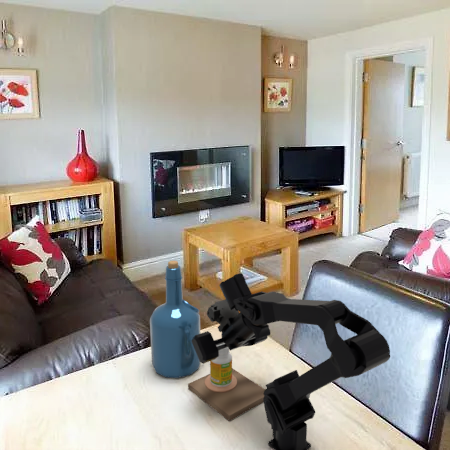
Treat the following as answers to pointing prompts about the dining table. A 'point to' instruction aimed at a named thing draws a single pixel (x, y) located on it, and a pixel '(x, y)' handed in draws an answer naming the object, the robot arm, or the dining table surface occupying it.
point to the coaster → (220, 389)
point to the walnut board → (230, 396)
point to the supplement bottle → (221, 368)
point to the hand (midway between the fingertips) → (217, 350)
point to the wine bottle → (174, 330)
